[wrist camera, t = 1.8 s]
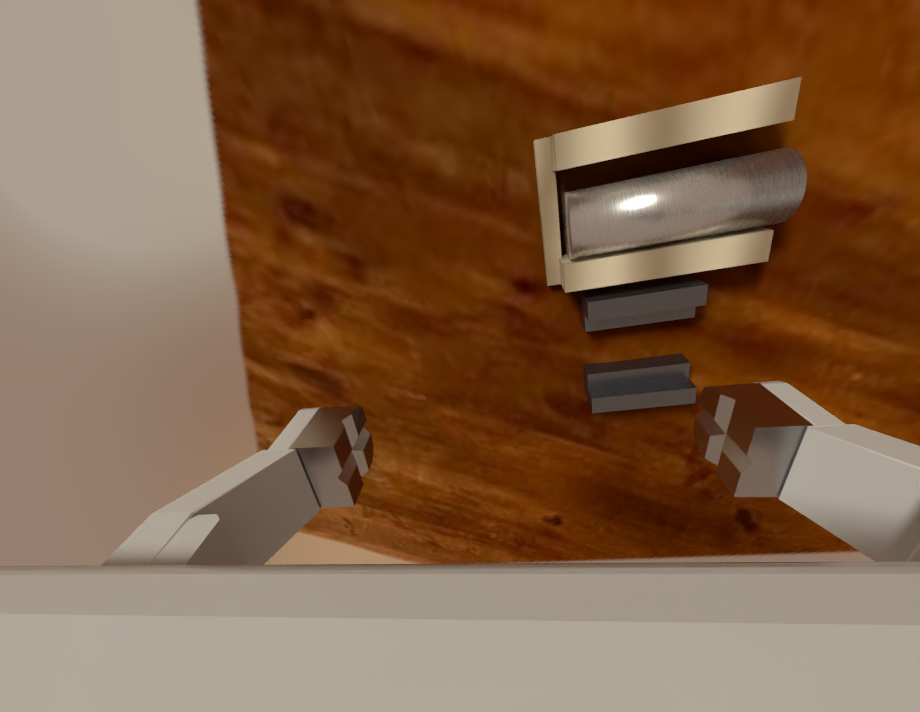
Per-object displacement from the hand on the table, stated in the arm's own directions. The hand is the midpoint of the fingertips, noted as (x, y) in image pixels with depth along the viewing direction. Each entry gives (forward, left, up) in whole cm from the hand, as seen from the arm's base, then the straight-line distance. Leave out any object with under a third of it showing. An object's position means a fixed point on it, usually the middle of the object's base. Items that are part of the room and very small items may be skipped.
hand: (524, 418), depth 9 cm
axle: (-11, -1, -20) cm, 22 cm away
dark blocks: (-9, +9, -22) cm, 25 cm away
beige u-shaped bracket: (-10, -2, -22) cm, 24 cm away
